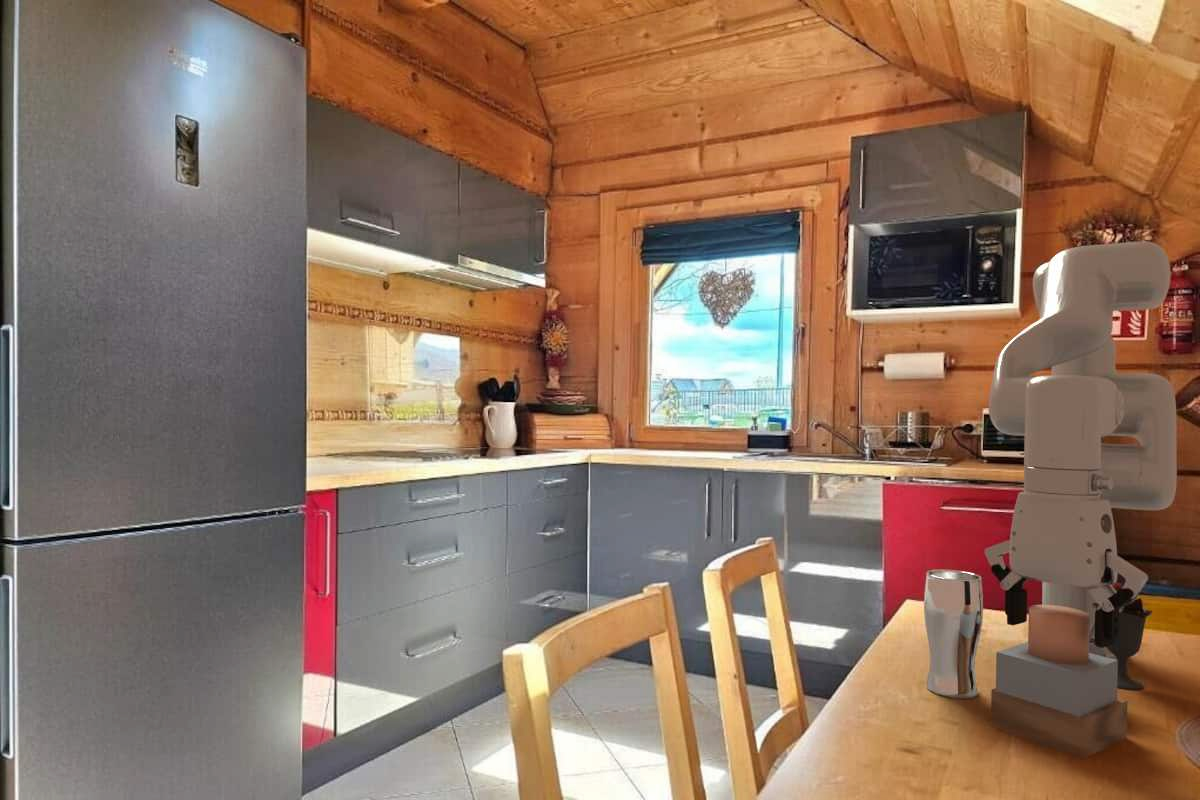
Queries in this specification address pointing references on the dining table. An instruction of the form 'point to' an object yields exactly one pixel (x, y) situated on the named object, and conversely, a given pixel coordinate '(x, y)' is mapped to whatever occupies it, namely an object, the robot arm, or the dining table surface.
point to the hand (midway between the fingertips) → (1058, 633)
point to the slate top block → (1057, 681)
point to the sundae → (1128, 638)
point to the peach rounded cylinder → (1059, 634)
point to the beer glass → (953, 631)
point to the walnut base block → (1060, 724)
